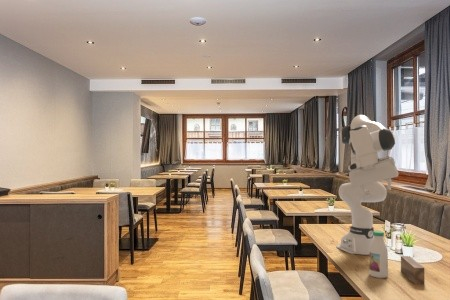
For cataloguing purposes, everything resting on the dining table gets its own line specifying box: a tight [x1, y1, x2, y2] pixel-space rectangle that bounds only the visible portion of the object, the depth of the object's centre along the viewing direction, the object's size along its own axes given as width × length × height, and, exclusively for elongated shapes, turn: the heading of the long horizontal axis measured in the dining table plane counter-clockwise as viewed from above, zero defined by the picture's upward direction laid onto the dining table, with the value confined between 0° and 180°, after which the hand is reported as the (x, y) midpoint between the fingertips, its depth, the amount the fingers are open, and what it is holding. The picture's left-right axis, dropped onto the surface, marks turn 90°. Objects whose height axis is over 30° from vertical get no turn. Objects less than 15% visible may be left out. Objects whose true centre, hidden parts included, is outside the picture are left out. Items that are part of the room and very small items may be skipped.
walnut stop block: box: [400, 255, 425, 285], centre depth 165 cm, size 4×18×7 cm, turn 171°
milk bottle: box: [368, 230, 389, 279], centre depth 168 cm, size 8×8×20 cm
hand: (378, 192), depth 158 cm, fingers open, 8 cm apart
